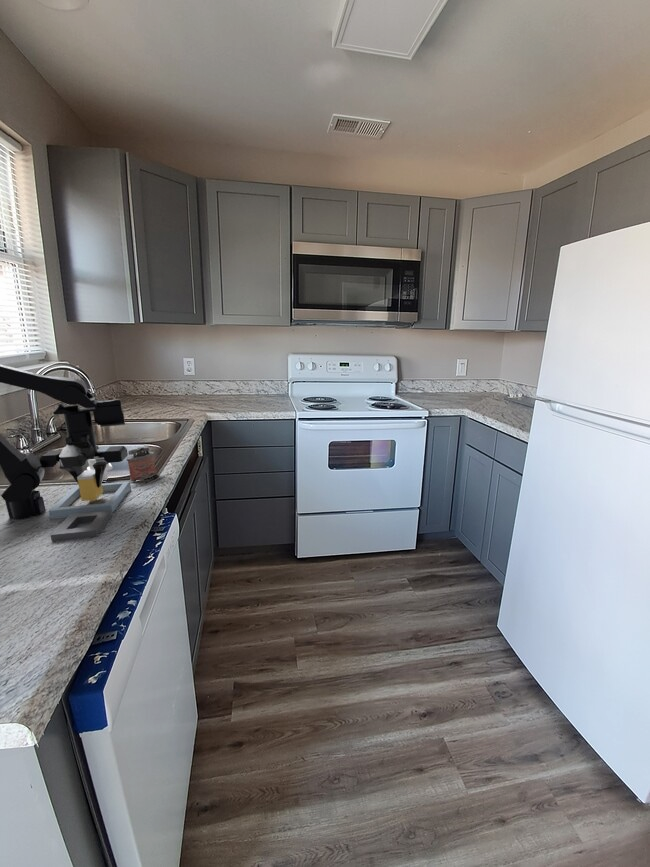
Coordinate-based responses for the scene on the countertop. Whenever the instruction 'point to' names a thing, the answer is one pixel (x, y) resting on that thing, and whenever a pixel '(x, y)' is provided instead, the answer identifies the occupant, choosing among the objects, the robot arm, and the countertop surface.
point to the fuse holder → (81, 525)
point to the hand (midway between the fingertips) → (91, 487)
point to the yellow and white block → (89, 486)
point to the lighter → (141, 463)
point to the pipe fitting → (108, 467)
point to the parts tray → (108, 488)
